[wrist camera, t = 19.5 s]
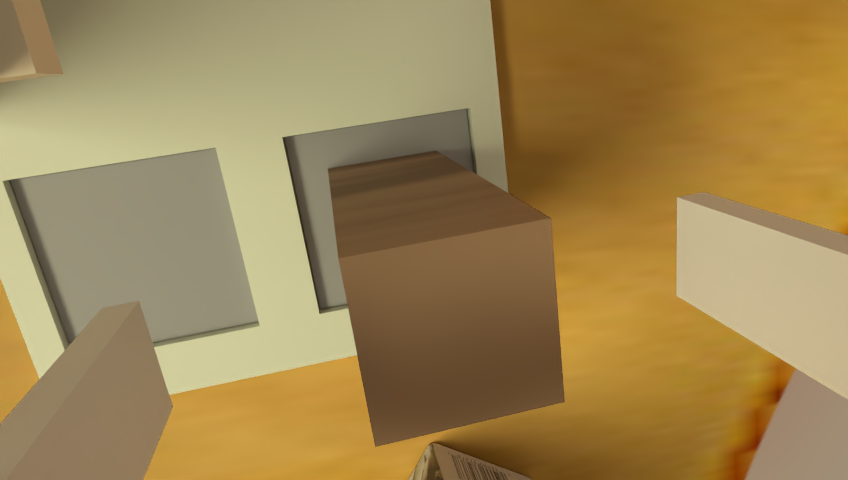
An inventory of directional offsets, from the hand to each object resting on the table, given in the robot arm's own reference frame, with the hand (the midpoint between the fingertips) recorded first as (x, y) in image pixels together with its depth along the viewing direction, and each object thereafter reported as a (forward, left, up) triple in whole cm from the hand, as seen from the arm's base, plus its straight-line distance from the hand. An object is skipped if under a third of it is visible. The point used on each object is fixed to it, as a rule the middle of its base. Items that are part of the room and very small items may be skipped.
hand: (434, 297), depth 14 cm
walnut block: (0, 0, -10) cm, 10 cm away
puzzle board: (-5, -5, -11) cm, 13 cm away
